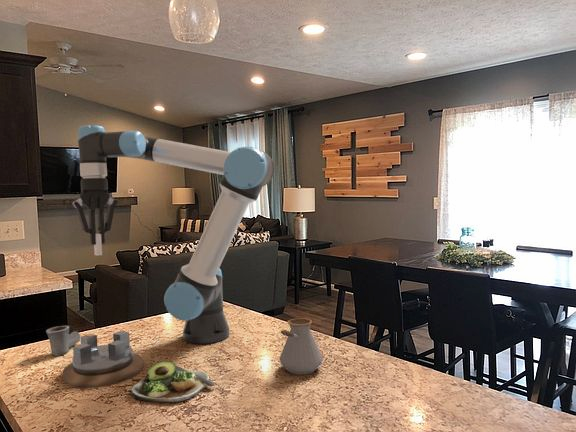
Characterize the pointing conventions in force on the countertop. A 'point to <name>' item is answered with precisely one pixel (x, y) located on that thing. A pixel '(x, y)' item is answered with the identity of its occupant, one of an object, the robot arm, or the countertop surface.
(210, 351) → the countertop surface
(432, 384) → the countertop surface
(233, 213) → the robot arm
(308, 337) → the coffee pot
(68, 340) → the pipe
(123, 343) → the four-tab metal disc
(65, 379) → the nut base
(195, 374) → the salad plate
